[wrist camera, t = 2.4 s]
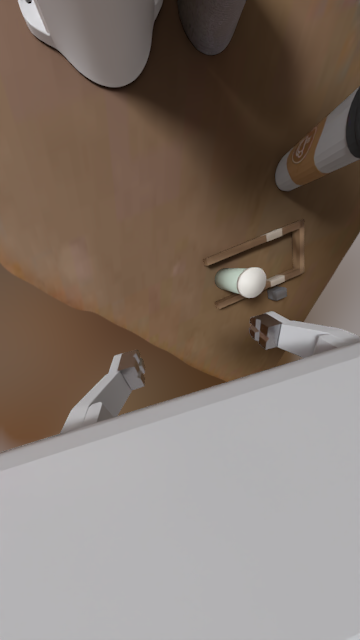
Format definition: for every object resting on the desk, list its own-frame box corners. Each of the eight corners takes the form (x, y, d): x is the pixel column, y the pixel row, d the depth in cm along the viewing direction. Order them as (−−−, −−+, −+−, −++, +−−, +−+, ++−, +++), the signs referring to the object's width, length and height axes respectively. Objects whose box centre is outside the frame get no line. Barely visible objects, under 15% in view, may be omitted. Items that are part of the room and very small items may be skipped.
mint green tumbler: (211, 272, 35) (237, 274, 25) (231, 264, 35) (264, 262, 25) (216, 292, 37) (242, 302, 27) (235, 285, 37) (267, 291, 27)
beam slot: (202, 259, 33) (207, 258, 30) (296, 221, 35) (308, 217, 32) (219, 319, 40) (224, 323, 37) (297, 285, 41) (307, 287, 38)
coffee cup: (279, 140, 28) (402, 22, 15) (309, 156, 31) (442, 66, 17) (264, 191, 31) (357, 131, 17) (293, 202, 33) (397, 157, 19)
